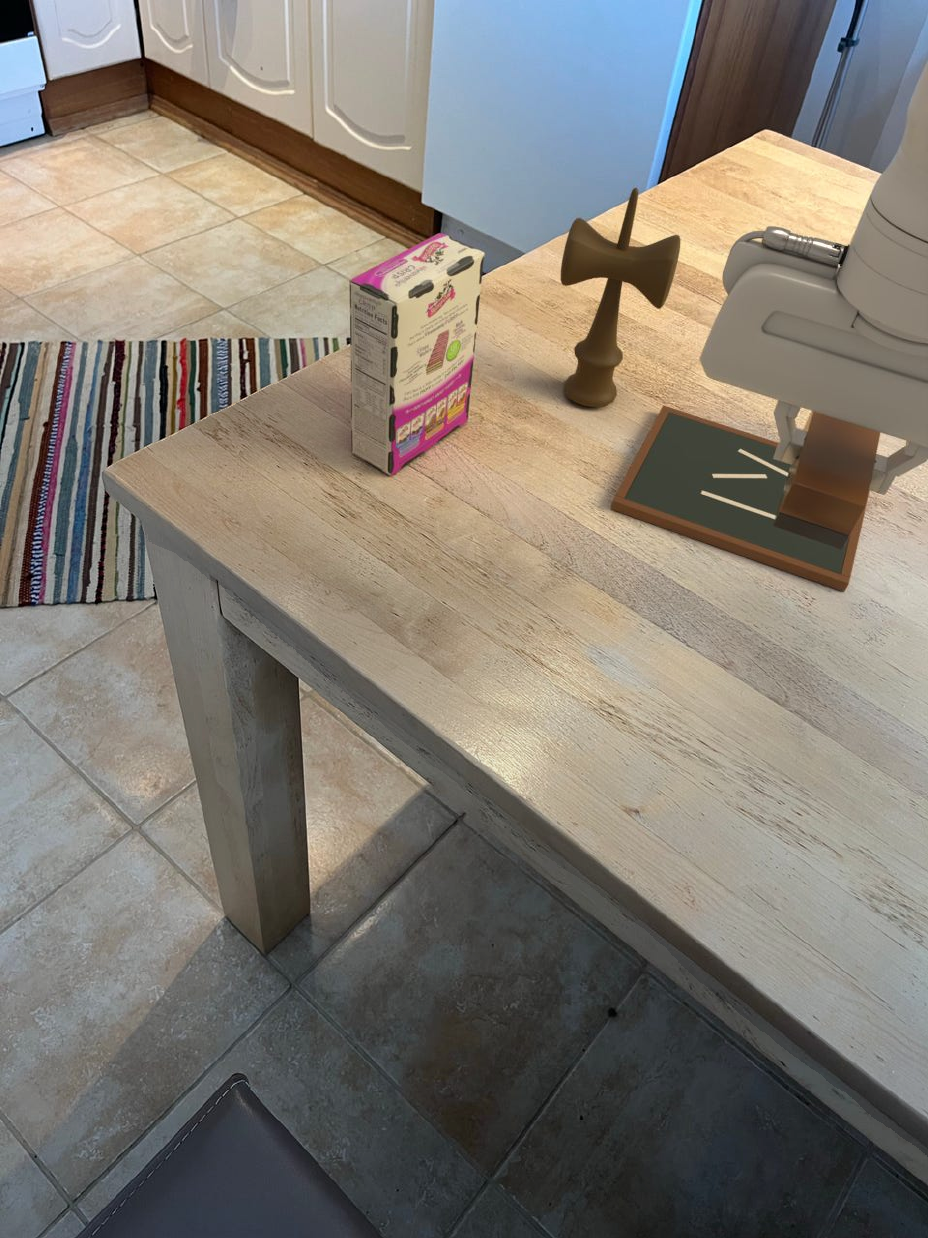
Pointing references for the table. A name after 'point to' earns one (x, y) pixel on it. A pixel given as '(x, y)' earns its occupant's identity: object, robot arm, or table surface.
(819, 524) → the eraser
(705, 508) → the chalkboard
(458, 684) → the table surface
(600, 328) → the kendama
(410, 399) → the candy bar box
